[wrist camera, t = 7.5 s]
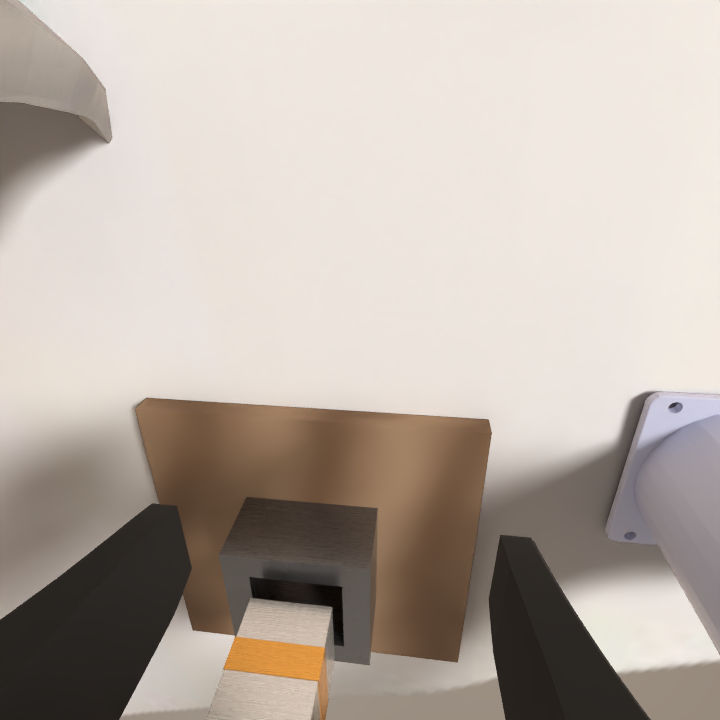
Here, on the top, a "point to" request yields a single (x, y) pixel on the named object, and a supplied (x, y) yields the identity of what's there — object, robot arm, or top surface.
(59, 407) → the top surface
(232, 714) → the post
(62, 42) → the hammer
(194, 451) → the base plate
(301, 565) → the sleeve
